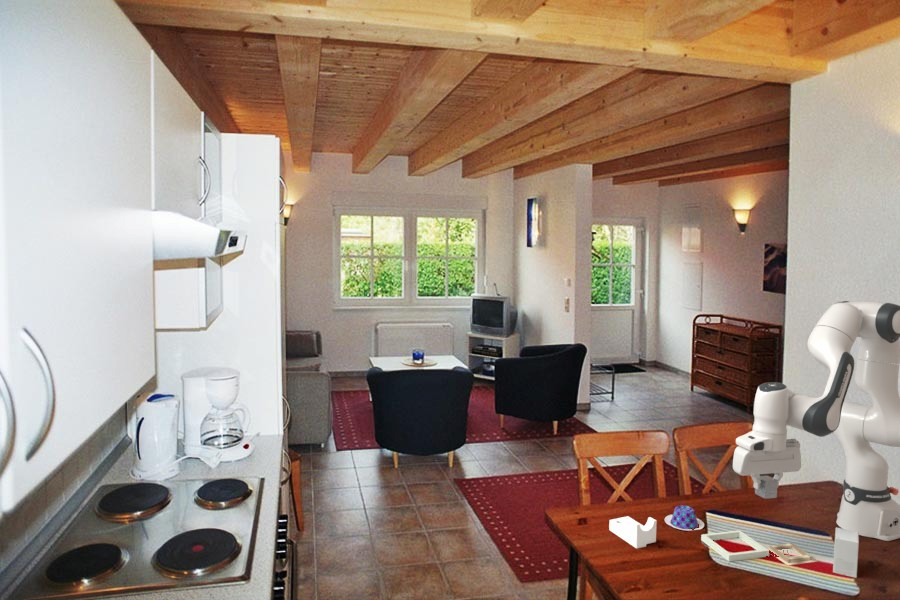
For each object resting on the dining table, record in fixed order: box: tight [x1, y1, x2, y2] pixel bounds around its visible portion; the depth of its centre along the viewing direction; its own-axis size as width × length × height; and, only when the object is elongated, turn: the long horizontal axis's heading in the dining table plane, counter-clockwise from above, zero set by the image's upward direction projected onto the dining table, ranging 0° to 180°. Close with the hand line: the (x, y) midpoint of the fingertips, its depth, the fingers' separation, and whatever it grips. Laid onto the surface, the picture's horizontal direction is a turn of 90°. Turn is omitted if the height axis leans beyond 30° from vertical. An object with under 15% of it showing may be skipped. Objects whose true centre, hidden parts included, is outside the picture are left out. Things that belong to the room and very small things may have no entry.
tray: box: [700, 529, 770, 565], centre depth 191 cm, size 13×13×2 cm
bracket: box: [608, 515, 658, 550], centre depth 199 cm, size 13×7×8 cm, turn 23°
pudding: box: [664, 504, 705, 531], centre depth 208 cm, size 12×12×5 cm
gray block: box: [754, 475, 778, 500], centre depth 186 cm, size 4×4×5 cm
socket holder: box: [767, 542, 818, 566], centre depth 187 cm, size 10×10×2 cm
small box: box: [832, 527, 860, 579], centre depth 179 cm, size 8×6×10 cm
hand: (765, 487), depth 187 cm, fingers closed on gray block, 4 cm apart
